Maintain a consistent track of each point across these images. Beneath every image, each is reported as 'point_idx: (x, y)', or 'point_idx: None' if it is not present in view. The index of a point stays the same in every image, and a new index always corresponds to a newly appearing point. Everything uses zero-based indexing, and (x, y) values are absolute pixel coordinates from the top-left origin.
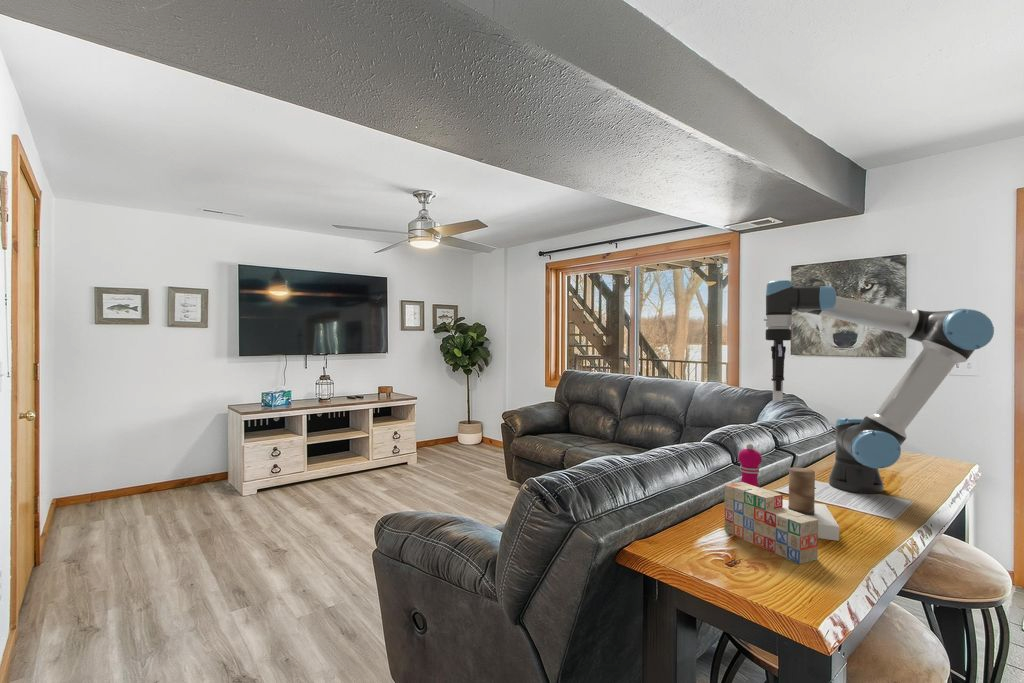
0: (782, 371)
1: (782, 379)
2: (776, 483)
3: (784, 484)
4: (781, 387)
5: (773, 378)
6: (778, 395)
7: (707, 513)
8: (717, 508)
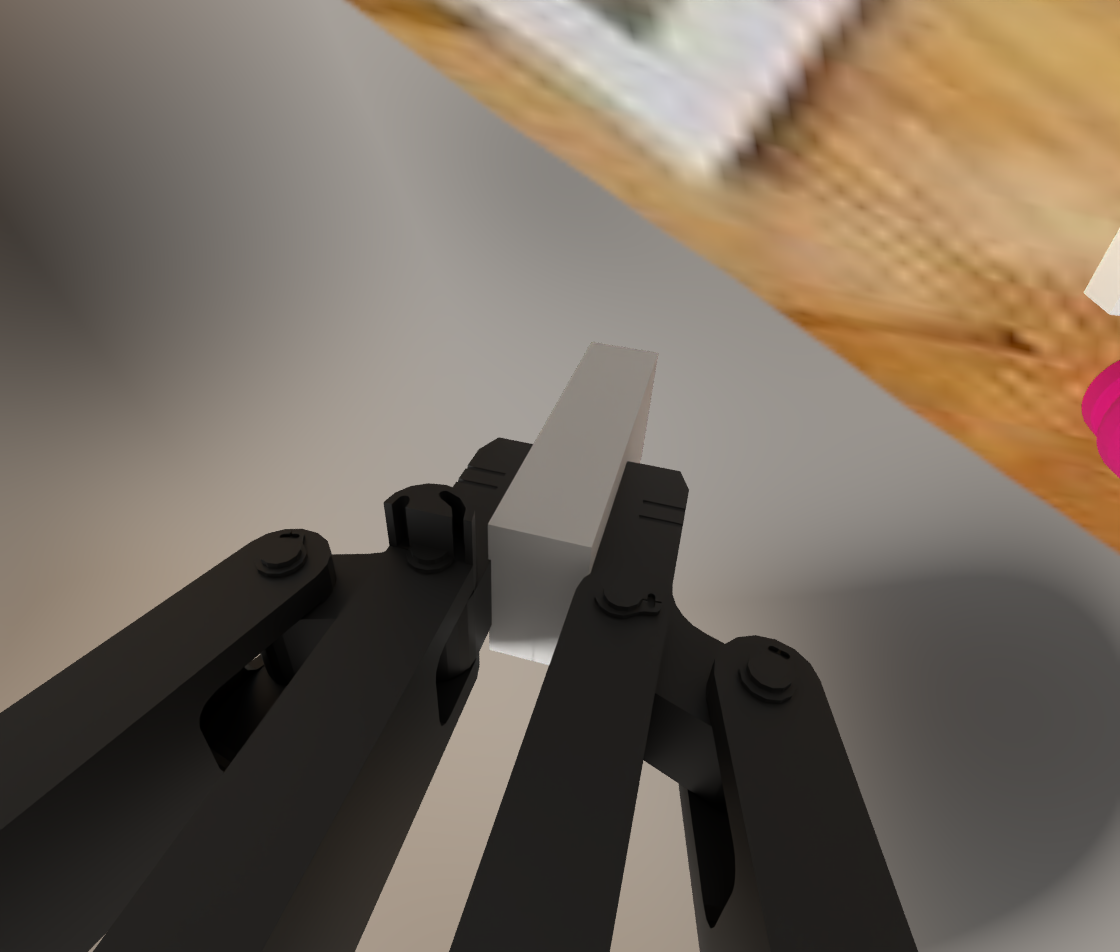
0: (892, 922)
1: (668, 612)
2: (565, 142)
3: (572, 97)
4: (614, 480)
5: (470, 675)
6: (637, 441)
7: (1114, 543)
8: (1044, 497)
